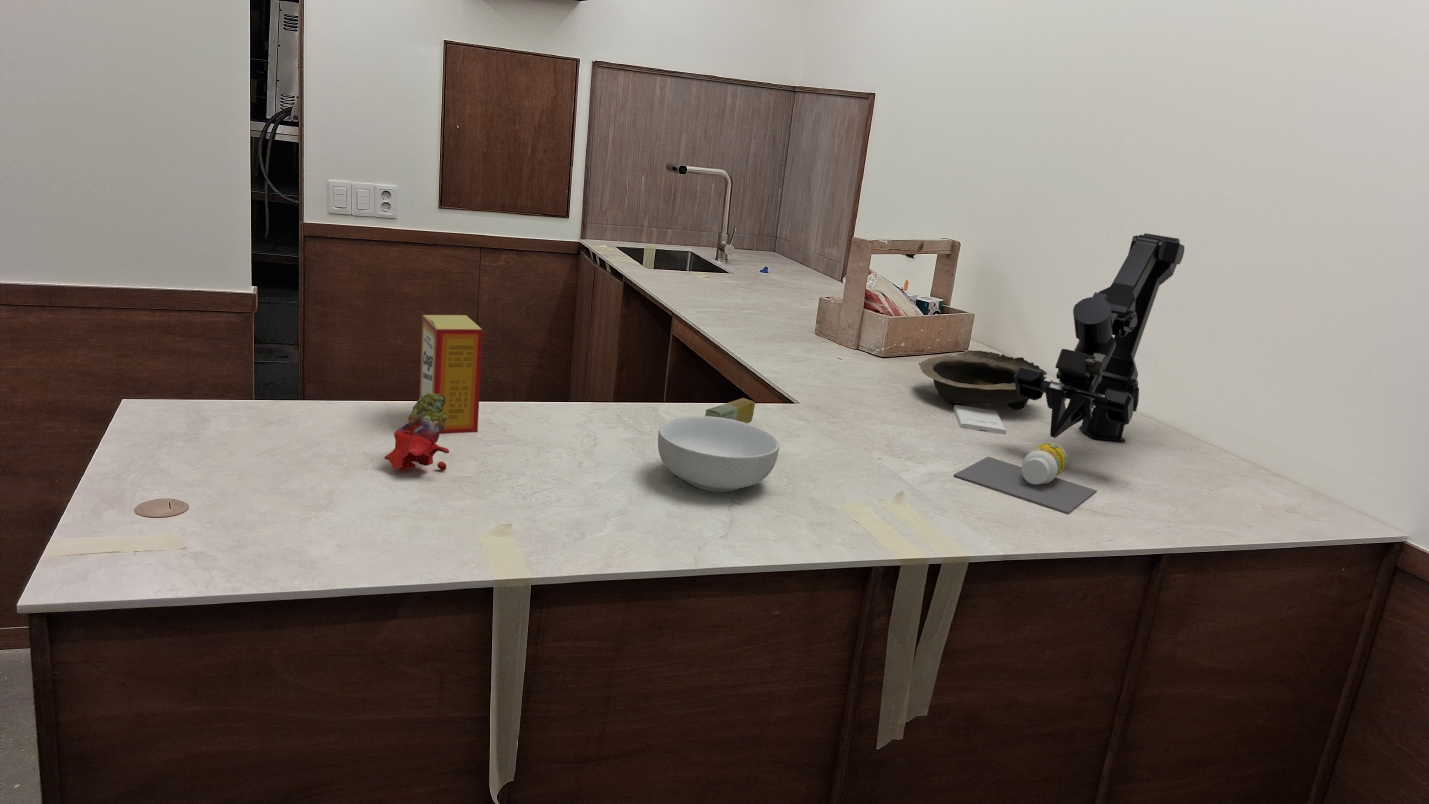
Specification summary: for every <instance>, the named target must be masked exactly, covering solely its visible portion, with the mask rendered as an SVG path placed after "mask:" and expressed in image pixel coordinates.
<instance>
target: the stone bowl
mask: <svg viewBox="0 0 1429 804" xmlns="http://www.w3.org/2000/svg"><path fill="white" fill-rule="evenodd" d="M1034 363H1035V362H1030V361H1028V360H1025V358H1024V357H1022V356H1021V357H1011V356H1007V355H1005V354H1000V353H996V352H992V351H990V352H989V351H983V350H966V351H964V352H959V353H957V354H956V355H952V354H951V355H950V354H945V355H940V356H934V357H929V358H926V359H924V360H921V362H919V363H918V365H919V368H920V370H921V372H922V374H924V375H925V376H926V377H929V378H930V379H932V380H933V384H934V385H933V386H934V387H935V391H936V392H937V395H938V397H939V398H941V399H942V400H943V401H945V402H947V403H948V404H956V403H957V404H960V405H961V404H963V405H991V406H992V405H1005V404H1006V405H1007V407H1008V408H1010V409H1012V410H1016V411H1020V410H1024V409H1025V408H1026V405H1027V404H1028V402H1029V400H1030V399H1027V398H1024V397H1020V396H1019V395H1018V394H1017V391H1016V386H1015V381H1014V376H1015V374H1016V372H1017V370H1018V369H1019V368H1021V367H1027V368H1031V369H1035V370H1039V371H1043V376H1044V380H1045V381H1046V379H1047V375H1048V373H1047V371H1045V370H1044V369H1042V368H1040V366H1039V365H1035V364H1034Z"/></svg>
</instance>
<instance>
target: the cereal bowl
mask: <svg viewBox="0 0 1429 804" xmlns="http://www.w3.org/2000/svg"><path fill="white" fill-rule="evenodd" d="M657 448H658V453H659V455H658V456H659V457H660V459H661V460H662V463H663V464H664V466H665V467H666V468H667V470H669V471H670V472H671V473H672V474H674V475H675V476H676V477H679V478H680V479H682V480H684V481H686V482H687V483H688V484H690V485H691V486H693V487H695V488H698V489H700V490H704V491H708V492H716V493H717V492H718V493H720V492H721V493H723V492H724V493H726V492H732V491H736V490H737V489H743V488H747V487H750V486H753V485H756V484H758V483H760V482H762V481H763V480H764V479H766V478H767V477H768V476H769V474H771V472H772V471H773V469H774V467H775V465H776V462H777V459H778V456H779V450H780V442H779V440H778V439H777V438H776V437H775V436H774V435H773V434H772V433H770V432H769V431H767V430H765V429H764V428H760V427H758V426H757V425H754V424H750V423H744V422H740V421H736V420H732V419H727V418H720V417H710V416H705V415H690V416H689V415H688V416H681V417H674V418H671V419H669V420H667V421H665V422H663V423H662V424H661V425H660V427H659V429H658V435H657Z"/></svg>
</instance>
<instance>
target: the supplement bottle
mask: <svg viewBox="0 0 1429 804" xmlns="http://www.w3.org/2000/svg"><path fill="white" fill-rule="evenodd" d="M1067 463H1068V456H1067V452H1066V451H1065V450H1064V448H1063V447H1061V446H1060V445H1058V444H1057V443H1053V442H1043V443H1040V444H1039V445H1038V446H1036V447H1035V448H1034V449H1033V450H1031V451H1030V452H1028V453H1027V454H1026V456H1025V457H1024V458H1023V460H1022V463H1021V465H1022V466H1021V467H1022V475H1023V477H1024V479H1025V480H1026V481H1027V482H1029V483H1031V484H1046V483H1049V482H1051V481H1052V480H1053V479H1054V478H1055V477H1056V478H1057V476H1058V475H1060V474H1061V473H1062V472H1063V471H1064V469H1065V468H1066V466H1067Z"/></svg>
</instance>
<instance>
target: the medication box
mask: <svg viewBox="0 0 1429 804" xmlns="http://www.w3.org/2000/svg"><path fill="white" fill-rule="evenodd" d="M755 405H756V402H755V401H753V400H750V399H747V398H745V397H742V398H739V399H736V400H733V401H729V402H727V403H722V404H720V405H717V406H713V407H712V408H707V409H705V414H704V416H710V417H720V418H727V419H732V420H736V421H740V422H744V423H748V424H750V423H751V422H752V421H753V416H754V411H755Z"/></svg>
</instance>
